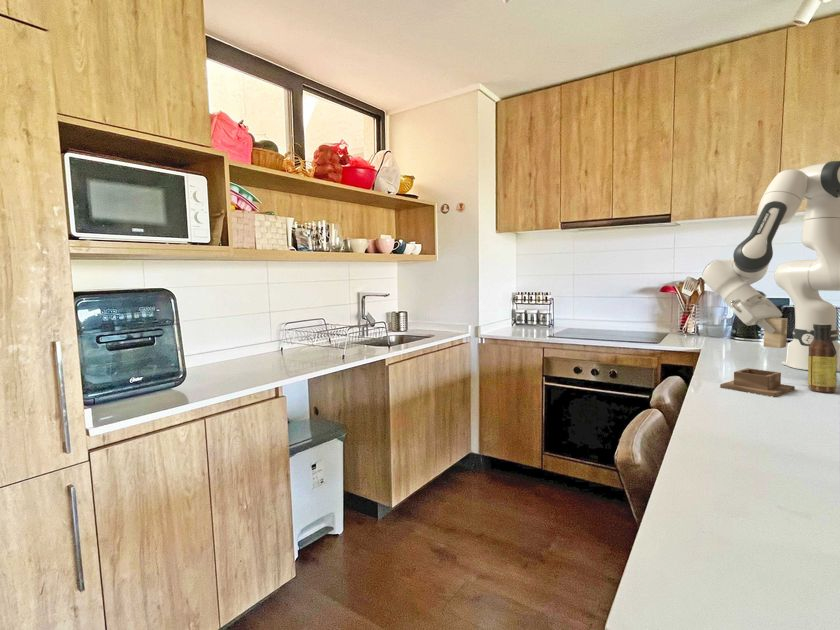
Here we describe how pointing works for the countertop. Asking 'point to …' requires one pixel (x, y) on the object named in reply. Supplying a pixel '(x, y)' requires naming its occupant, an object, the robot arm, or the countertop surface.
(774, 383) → the walnut stand
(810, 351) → the sauce bottle
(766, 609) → the countertop surface
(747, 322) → the robot arm
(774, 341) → the maple block
